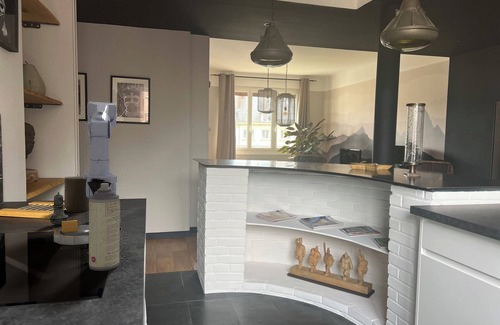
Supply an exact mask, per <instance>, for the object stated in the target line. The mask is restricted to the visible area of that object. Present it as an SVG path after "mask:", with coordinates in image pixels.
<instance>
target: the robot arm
mask: <svg viewBox="0 0 500 325" xmlns="http://www.w3.org/2000/svg"><path fill="white" fill-rule="evenodd" d="M117 105H118V104H117V103H116V102H103V101H102V102H99V101H91V100H89V101H88V102H87V105H86V109H87V111H86V112H87V120H88V121H87V127H86V128H87V137H88V138H87V139H88V145H89V148H88V152H89V154H88V159H89V160H88V161H89V162H88V163H89V165H88V167H89V172H88V171H87V172H86V171H84V172H82V176H83V179H87V182H86V196H87V197H88V198H90V196H93V195H94V193H95V192H96V191H98V189H99V188H101V184H102V183H108V184H109V188H110V189H112V191H114V192H115V194H116V195H117V182H118V176H117V175H115V174H114V173H113V172H112V171H110V166H111V163H110V160H111V159H110V157H111V156H110V155H111V154H110V151H111V150H110V148H111V146H110V140H111V139H112V138H111V137H112V129H114V128H116V125H117V112H118V111H117V110H118V109H117ZM120 222H122V219H120Z"/></svg>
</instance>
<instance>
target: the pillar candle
mask: <svg viewBox="0 0 500 325" xmlns="http://www.w3.org/2000/svg"><path fill="white" fill-rule="evenodd" d="M86 182H87V179H83V175H82V176H80V175H78V173H77V174H76V175H75V176H65V177H64V195H63V204H64V205H65V206H64V208H66V209H67V210H66V211H65V212H68V213H82V212H83V213H84V212H89V200H90V198H88V197H87V196H86Z"/></svg>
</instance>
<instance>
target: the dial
mask: <svg viewBox="0 0 500 325" xmlns="http://www.w3.org/2000/svg"><path fill="white" fill-rule="evenodd" d="M61 228H62V233H63V232H64V235H65V236H83V235H89V226H80V227H78V219H74V220H67V221H62V224H61Z"/></svg>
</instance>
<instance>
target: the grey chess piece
mask: <svg viewBox="0 0 500 325" xmlns="http://www.w3.org/2000/svg"><path fill="white" fill-rule="evenodd" d="M64 206H65V205H64V195H63V194H60V192H59V191H57V193H56V194H55V195H53V205H52V207H53V212H52V214H51V215H50V216H48V219H49V221H50V224H52V225H54V226H60V225H61V226H62V221H68V218H69V214H65V210H64Z"/></svg>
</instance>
